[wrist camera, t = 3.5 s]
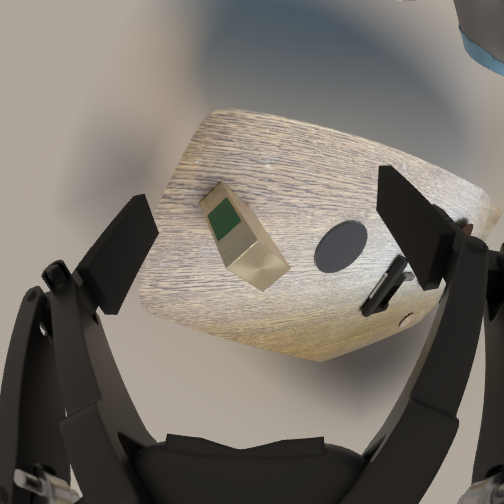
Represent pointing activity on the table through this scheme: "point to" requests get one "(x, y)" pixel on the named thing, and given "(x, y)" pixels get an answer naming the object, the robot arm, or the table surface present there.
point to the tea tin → (242, 239)
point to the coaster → (340, 246)
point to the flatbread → (406, 320)
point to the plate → (468, 229)
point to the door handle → (387, 288)
